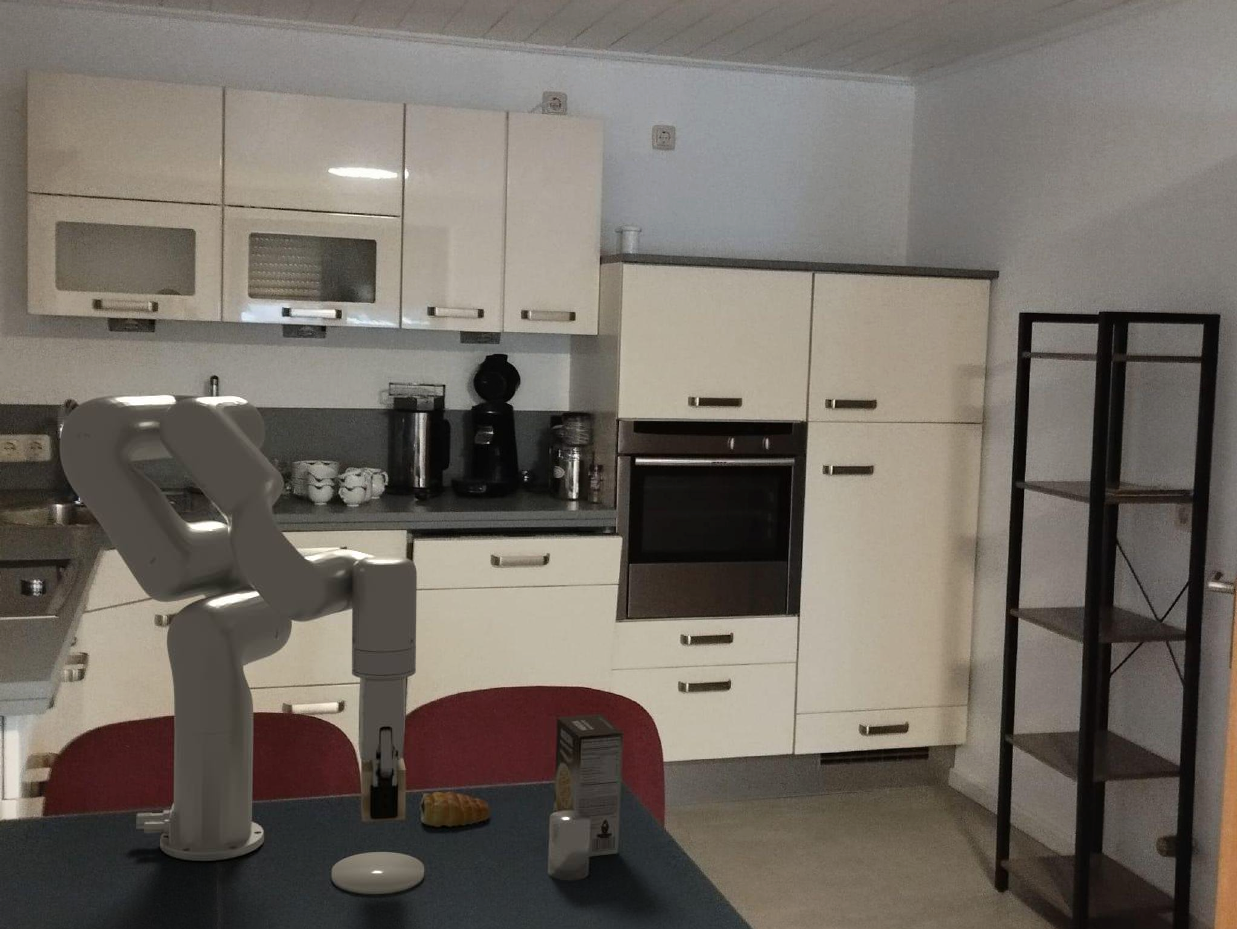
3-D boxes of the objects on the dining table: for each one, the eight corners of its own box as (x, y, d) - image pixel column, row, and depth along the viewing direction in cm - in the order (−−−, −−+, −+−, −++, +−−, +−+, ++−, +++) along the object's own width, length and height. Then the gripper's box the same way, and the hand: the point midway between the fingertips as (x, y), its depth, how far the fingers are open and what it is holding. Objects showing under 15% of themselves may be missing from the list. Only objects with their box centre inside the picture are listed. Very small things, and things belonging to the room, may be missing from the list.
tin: (551, 881, 162) (553, 825, 161) (544, 865, 167) (546, 811, 166) (592, 879, 163) (594, 823, 163) (583, 863, 168) (585, 809, 167)
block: (362, 821, 158) (362, 772, 157) (360, 807, 163) (361, 759, 162) (405, 819, 159) (405, 770, 159) (402, 805, 164) (402, 757, 163)
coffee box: (550, 834, 178) (554, 715, 176) (595, 829, 180) (600, 712, 179) (573, 859, 169) (578, 735, 168) (620, 854, 172) (625, 731, 170)
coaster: (332, 896, 155) (332, 889, 155) (330, 860, 166) (330, 854, 166) (427, 891, 158) (428, 884, 158) (420, 856, 168) (420, 850, 168)
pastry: (484, 810, 187) (485, 783, 186) (492, 827, 180) (493, 800, 180) (417, 813, 184) (417, 786, 184) (422, 831, 178) (423, 803, 177)
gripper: (349, 646, 167) (348, 788, 168) (354, 678, 150) (353, 836, 152) (410, 644, 168) (408, 785, 170) (421, 676, 152) (419, 832, 153)
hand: (382, 808), depth 161 cm, fingers closed on block, 5 cm apart
